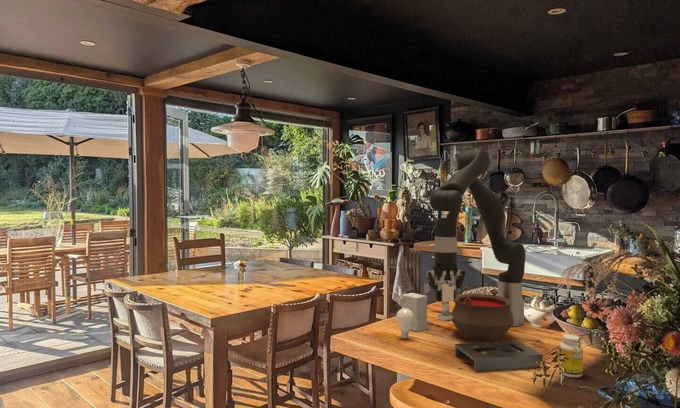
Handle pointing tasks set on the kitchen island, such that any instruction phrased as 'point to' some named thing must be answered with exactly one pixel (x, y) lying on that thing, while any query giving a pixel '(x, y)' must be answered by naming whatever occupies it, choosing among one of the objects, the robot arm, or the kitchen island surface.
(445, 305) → the keyhole peg
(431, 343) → the kitchen island surface
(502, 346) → the keyhole plate
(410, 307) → the small box
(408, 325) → the lightbulb
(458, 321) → the brown cooking pot
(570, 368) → the pill bottle
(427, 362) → the kitchen island surface
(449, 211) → the robot arm
